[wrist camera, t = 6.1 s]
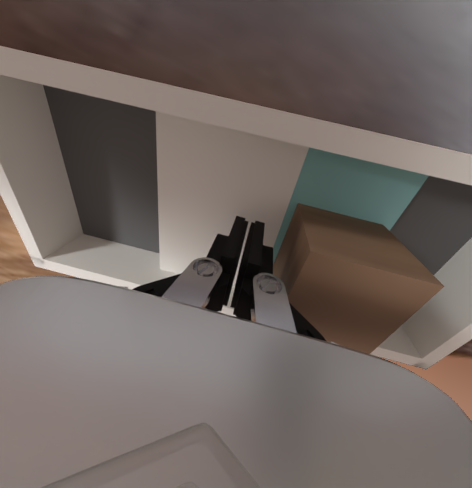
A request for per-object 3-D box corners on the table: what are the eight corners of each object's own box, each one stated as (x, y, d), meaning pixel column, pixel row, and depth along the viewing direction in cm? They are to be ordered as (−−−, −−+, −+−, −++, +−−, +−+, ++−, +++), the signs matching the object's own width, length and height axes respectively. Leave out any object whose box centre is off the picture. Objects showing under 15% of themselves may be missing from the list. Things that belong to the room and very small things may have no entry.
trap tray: (21, 52, 12) (-80, 27, 8) (552, 175, 11) (678, 202, 7) (77, 239, 19) (34, 265, 15) (398, 322, 18) (426, 369, 15)
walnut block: (297, 202, 12) (310, 251, 8) (383, 224, 12) (444, 286, 7) (272, 267, 14) (270, 329, 10) (340, 285, 14) (367, 355, 10)
